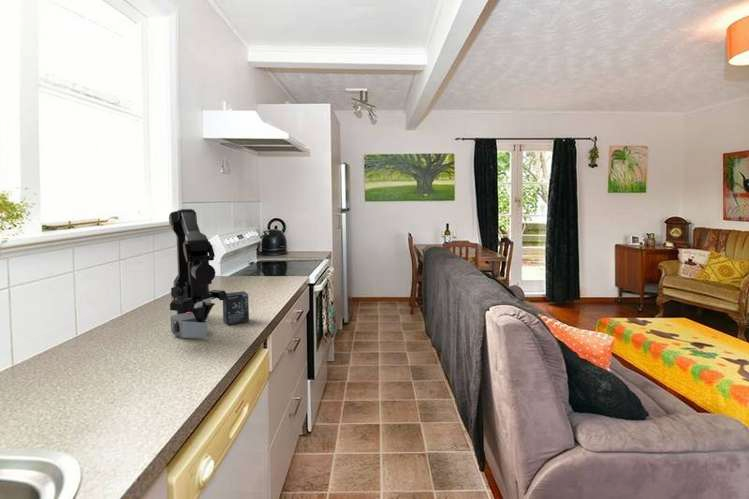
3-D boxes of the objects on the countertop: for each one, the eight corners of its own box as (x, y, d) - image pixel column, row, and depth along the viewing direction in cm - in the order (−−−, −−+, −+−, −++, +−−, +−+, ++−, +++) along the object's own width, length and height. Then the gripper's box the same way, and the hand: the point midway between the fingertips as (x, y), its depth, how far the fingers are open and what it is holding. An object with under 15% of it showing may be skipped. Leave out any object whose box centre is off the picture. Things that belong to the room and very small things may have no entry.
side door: (181, 337, 136) (180, 321, 136) (207, 337, 135) (206, 321, 135) (179, 337, 136) (178, 321, 135) (205, 338, 135) (205, 322, 134)
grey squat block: (167, 332, 142) (166, 315, 141) (195, 326, 149) (194, 310, 148) (176, 338, 136) (175, 320, 135) (206, 332, 142) (205, 315, 141)
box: (227, 325, 150) (226, 296, 149) (223, 322, 155) (221, 293, 154) (249, 322, 154) (248, 293, 153) (244, 318, 159) (243, 290, 158)
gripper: (200, 272, 147) (202, 316, 148) (154, 281, 129) (157, 332, 131) (226, 274, 142) (228, 319, 144) (183, 284, 125) (185, 336, 127)
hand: (201, 326), depth 137 cm, fingers closed
